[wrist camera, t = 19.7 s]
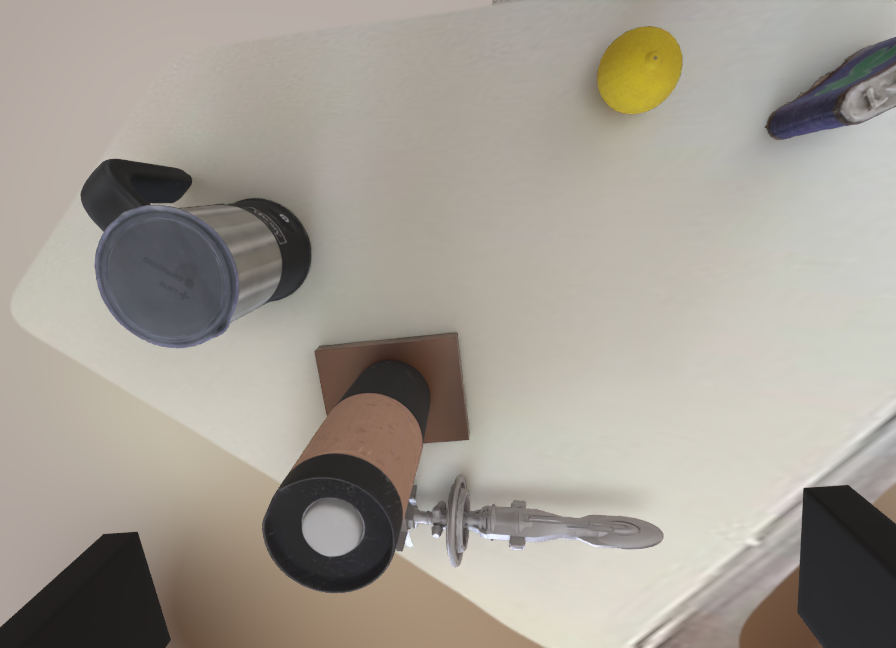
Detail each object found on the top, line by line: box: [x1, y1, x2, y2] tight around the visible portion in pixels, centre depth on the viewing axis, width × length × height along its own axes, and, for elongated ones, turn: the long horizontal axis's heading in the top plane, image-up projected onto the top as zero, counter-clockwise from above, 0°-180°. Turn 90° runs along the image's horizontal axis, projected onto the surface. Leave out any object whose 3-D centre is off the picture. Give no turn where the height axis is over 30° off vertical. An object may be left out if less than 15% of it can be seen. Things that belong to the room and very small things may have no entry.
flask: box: [765, 37, 896, 140], centre depth 35 cm, size 9×3×11 cm, turn 128°
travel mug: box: [262, 360, 430, 593], centre depth 38 cm, size 8×8×20 cm
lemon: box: [597, 26, 682, 114], centre depth 37 cm, size 6×6×8 cm
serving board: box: [315, 333, 469, 443], centre depth 48 cm, size 13×10×2 cm
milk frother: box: [81, 159, 311, 348], centre depth 40 cm, size 14×16×15 cm
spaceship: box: [396, 475, 663, 567], centre depth 47 cm, size 8×35×8 cm
